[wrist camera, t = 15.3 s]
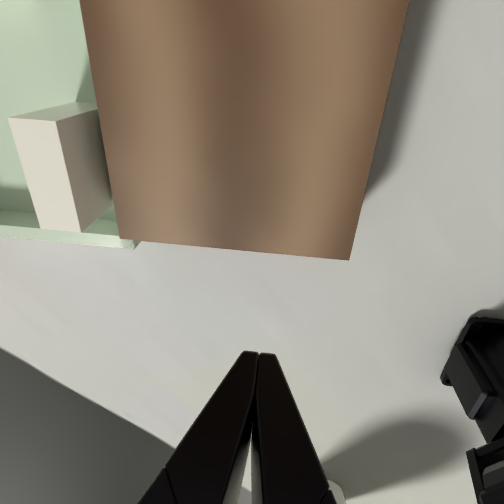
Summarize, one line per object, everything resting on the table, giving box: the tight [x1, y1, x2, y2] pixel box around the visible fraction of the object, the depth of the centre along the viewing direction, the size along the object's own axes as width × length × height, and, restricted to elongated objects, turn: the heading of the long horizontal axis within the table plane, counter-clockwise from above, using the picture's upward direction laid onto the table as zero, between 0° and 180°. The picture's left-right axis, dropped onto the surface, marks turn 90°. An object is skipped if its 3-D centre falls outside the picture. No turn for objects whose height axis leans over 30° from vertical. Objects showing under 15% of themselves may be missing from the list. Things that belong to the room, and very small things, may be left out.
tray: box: [0, 0, 141, 249], centre depth 17 cm, size 11×19×2 cm, turn 177°
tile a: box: [8, 102, 114, 232], centre depth 17 cm, size 5×5×2 cm
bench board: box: [79, 0, 410, 260], centre depth 15 cm, size 12×16×4 cm
